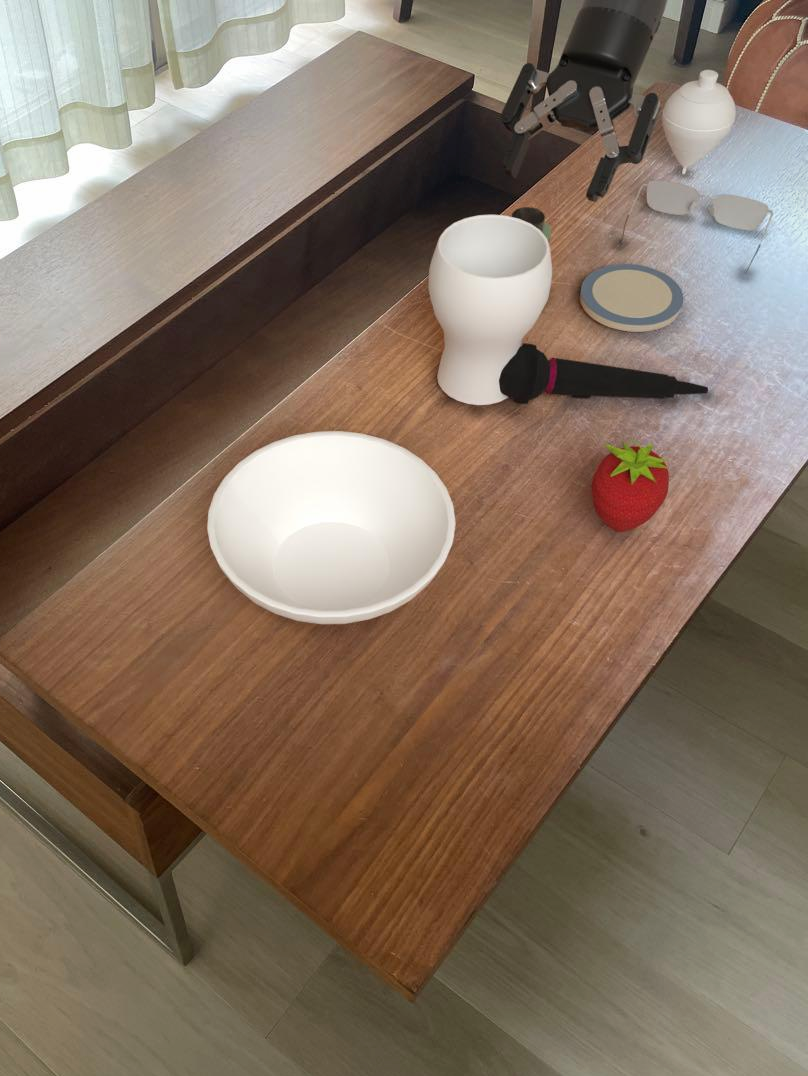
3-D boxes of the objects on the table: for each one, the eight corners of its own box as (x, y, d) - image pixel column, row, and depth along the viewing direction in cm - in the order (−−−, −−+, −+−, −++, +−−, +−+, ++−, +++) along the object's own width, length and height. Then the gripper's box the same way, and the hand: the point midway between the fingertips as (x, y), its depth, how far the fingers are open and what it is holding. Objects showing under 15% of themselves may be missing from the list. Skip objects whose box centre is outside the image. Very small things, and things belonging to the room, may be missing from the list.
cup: (438, 424, 102) (449, 291, 90) (410, 351, 108) (417, 219, 97) (549, 407, 102) (574, 273, 91) (514, 336, 109) (534, 203, 98)
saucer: (684, 283, 114) (687, 271, 112) (674, 344, 108) (678, 331, 106) (586, 269, 116) (588, 257, 115) (571, 327, 110) (574, 315, 109)
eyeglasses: (766, 234, 118) (776, 203, 115) (747, 280, 114) (758, 250, 111) (637, 206, 123) (644, 175, 120) (615, 249, 119) (621, 219, 116)
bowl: (387, 706, 83) (390, 655, 78) (170, 612, 90) (159, 559, 84) (485, 531, 93) (493, 475, 88) (284, 459, 100) (281, 403, 95)
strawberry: (568, 546, 92) (587, 462, 84) (598, 487, 96) (620, 403, 88) (637, 571, 90) (664, 488, 82) (665, 510, 94) (693, 426, 86)
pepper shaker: (549, 301, 113) (563, 221, 106) (509, 315, 112) (520, 235, 105) (524, 276, 116) (536, 197, 109) (484, 289, 115) (493, 210, 108)
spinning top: (666, 196, 124) (691, 95, 115) (638, 161, 129) (660, 62, 120) (730, 185, 125) (760, 84, 115) (699, 151, 130) (726, 51, 120)
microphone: (689, 406, 106) (484, 387, 106) (706, 350, 103) (496, 330, 103) (706, 430, 102) (492, 411, 101) (725, 373, 98) (505, 353, 98)
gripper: (539, -10, 104) (474, 157, 107) (686, 20, 99) (613, 196, 101) (554, 23, 111) (493, 179, 114) (693, 53, 105) (624, 217, 108)
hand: (549, 187), depth 108 cm, fingers open, 8 cm apart
